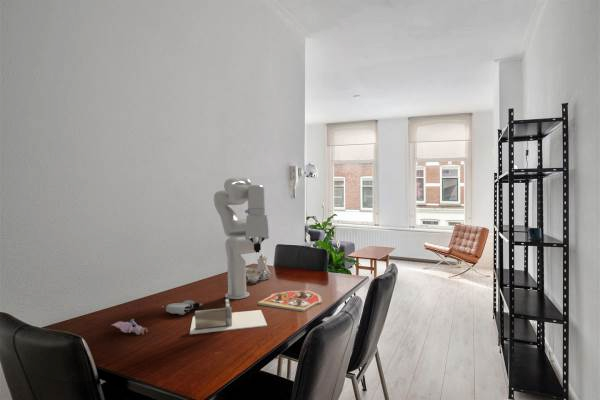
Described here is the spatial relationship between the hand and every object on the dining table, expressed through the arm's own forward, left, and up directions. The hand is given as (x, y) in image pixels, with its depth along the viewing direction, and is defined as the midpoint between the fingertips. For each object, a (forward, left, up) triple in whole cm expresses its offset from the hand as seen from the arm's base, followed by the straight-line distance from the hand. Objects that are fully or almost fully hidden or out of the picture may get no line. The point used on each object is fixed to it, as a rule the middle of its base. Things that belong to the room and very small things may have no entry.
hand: (257, 252), depth 162 cm
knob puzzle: (-12, +20, -28) cm, 36 cm away
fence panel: (+8, -14, -26) cm, 31 cm away
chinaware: (-64, +7, -28) cm, 70 cm away
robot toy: (-10, -34, -28) cm, 45 cm away
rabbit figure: (+11, -52, -28) cm, 60 cm away
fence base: (+16, -20, -27) cm, 37 cm away
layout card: (+10, -14, -27) cm, 32 cm away
